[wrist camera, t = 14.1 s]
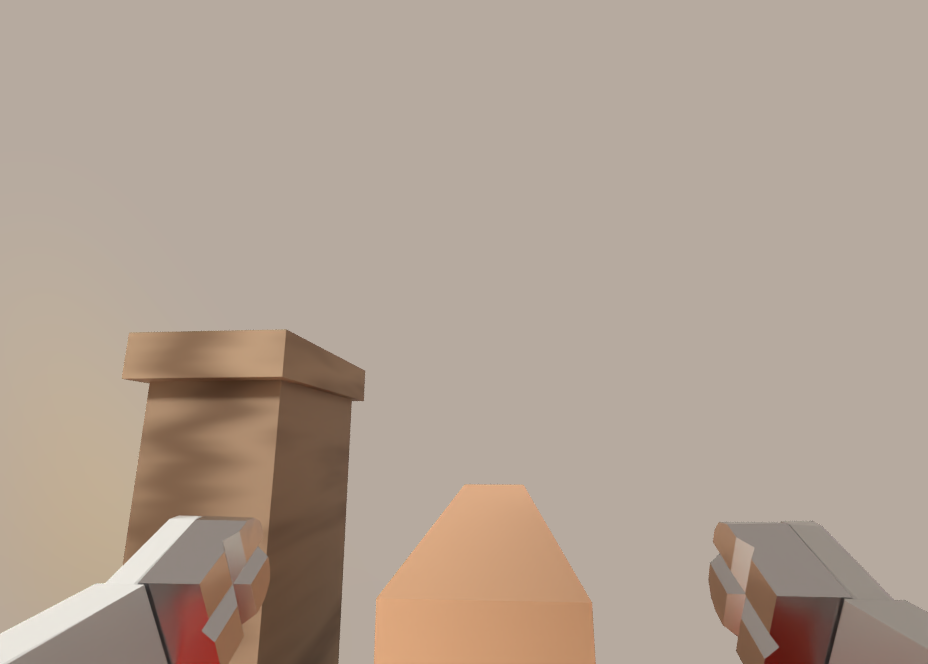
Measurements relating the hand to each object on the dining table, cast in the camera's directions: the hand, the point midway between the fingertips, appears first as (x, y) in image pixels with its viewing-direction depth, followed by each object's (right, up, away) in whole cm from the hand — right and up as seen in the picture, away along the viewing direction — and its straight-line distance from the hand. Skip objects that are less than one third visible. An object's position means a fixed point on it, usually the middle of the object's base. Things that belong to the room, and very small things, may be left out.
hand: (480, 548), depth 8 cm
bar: (+1, -7, +11) cm, 13 cm away
